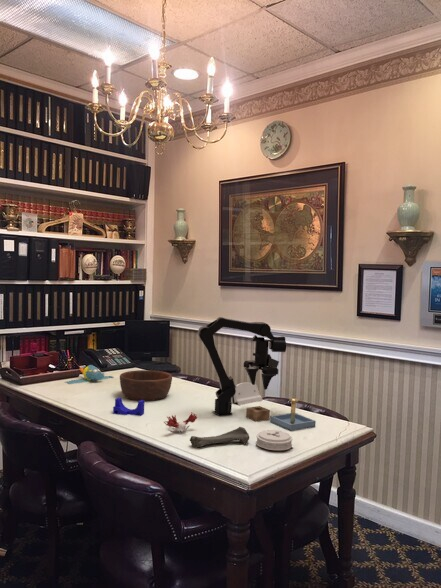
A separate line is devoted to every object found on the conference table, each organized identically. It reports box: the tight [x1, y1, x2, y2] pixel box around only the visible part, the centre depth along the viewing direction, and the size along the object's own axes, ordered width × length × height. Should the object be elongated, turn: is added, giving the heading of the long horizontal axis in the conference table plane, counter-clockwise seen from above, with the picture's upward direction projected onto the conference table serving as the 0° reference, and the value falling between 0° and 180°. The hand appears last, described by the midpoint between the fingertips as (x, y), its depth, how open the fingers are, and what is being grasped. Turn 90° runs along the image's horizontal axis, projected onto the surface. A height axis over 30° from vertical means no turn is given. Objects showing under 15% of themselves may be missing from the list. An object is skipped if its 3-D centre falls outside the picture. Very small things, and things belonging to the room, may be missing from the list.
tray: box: [269, 412, 317, 432], centre depth 202 cm, size 13×13×2 cm
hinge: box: [231, 381, 263, 406], centre depth 237 cm, size 17×5×10 cm, turn 132°
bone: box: [189, 426, 250, 448], centre depth 175 cm, size 22×6×6 cm, turn 112°
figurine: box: [163, 411, 198, 433], centre depth 188 cm, size 15×12×7 cm
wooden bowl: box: [119, 369, 173, 402], centre depth 239 cm, size 25×25×10 cm
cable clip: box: [112, 397, 146, 417], centre depth 208 cm, size 12×4×6 cm, turn 76°
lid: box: [255, 429, 293, 451], centre depth 175 cm, size 13×13×5 cm
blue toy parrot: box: [64, 364, 115, 385], centre depth 267 cm, size 28×9×15 cm
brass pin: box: [289, 397, 299, 424], centre depth 202 cm, size 3×3×10 cm
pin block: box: [245, 405, 271, 423], centre depth 209 cm, size 7×7×4 cm
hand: (259, 387), depth 215 cm, fingers open, 9 cm apart
